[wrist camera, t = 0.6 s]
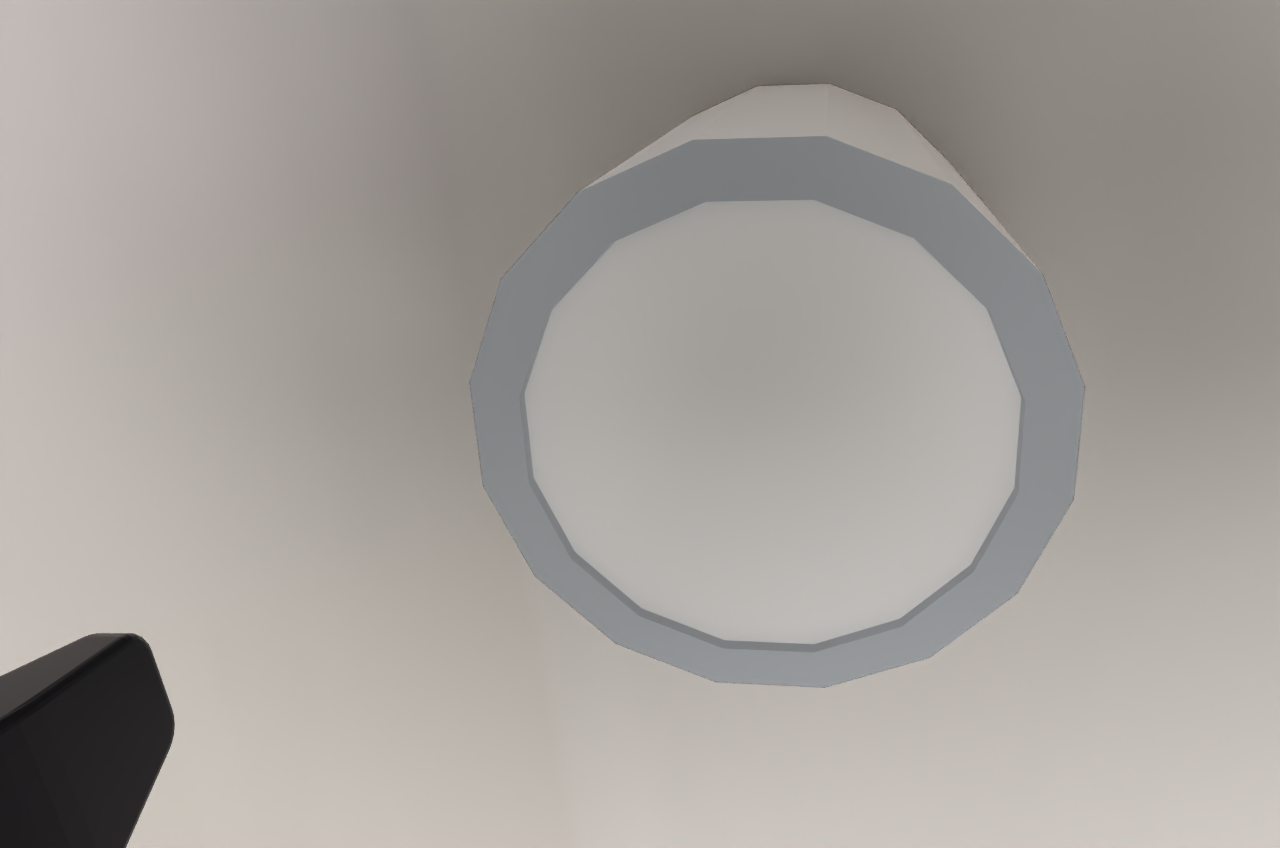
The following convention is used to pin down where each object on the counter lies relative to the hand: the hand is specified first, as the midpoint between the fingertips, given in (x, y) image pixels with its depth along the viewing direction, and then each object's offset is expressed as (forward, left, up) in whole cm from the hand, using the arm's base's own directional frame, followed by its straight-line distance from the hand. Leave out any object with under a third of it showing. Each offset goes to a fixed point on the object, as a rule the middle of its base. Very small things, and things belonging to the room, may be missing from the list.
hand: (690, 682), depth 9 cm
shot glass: (0, 0, -12) cm, 12 cm away
